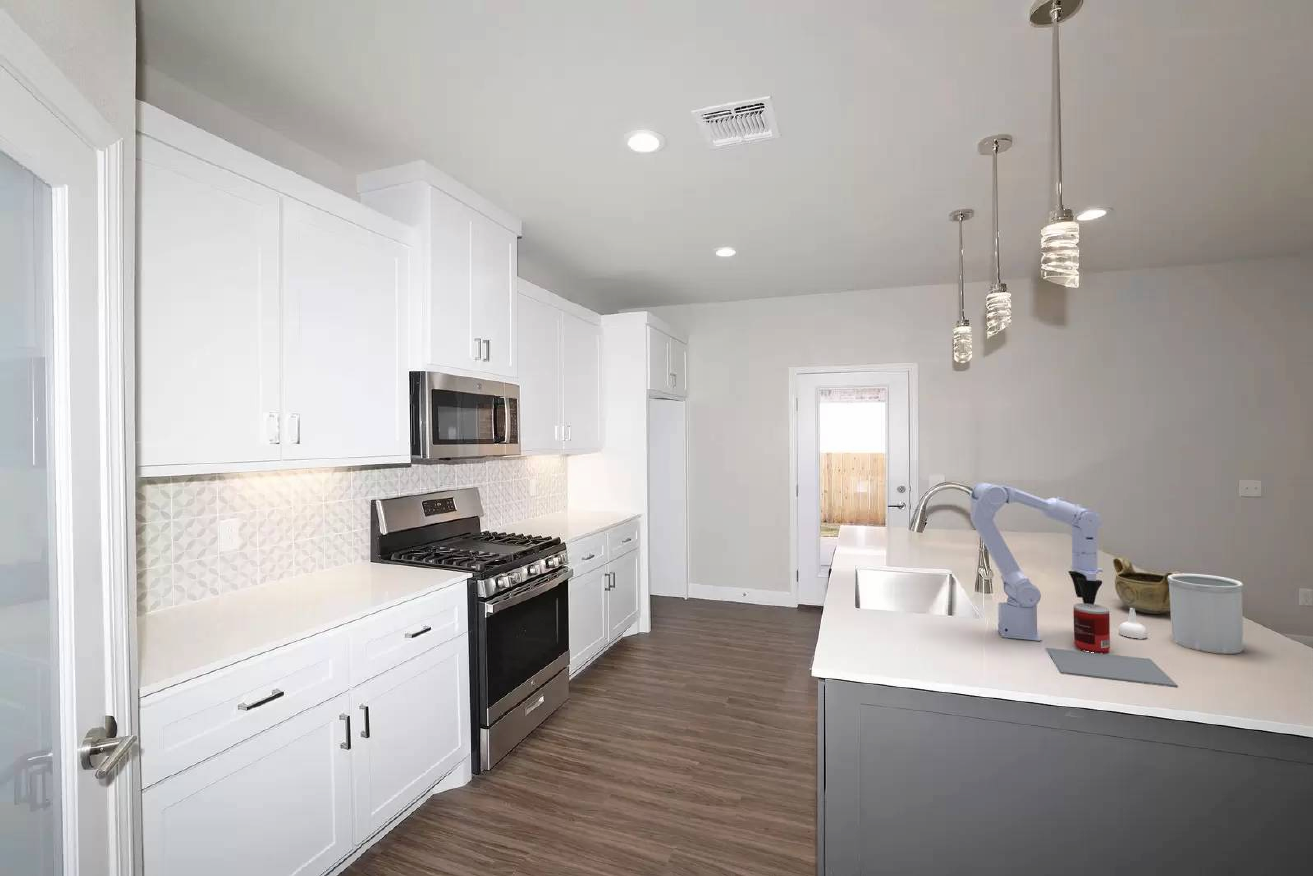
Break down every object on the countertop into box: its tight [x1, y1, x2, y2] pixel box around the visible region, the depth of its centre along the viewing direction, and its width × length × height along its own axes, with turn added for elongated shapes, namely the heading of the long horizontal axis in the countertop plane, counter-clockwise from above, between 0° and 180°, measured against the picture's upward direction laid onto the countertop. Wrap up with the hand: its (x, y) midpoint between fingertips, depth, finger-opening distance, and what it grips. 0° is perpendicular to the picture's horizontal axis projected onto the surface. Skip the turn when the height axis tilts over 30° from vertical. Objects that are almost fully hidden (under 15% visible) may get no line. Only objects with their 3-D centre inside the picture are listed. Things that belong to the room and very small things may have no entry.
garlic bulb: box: [1118, 607, 1148, 640], centre depth 166 cm, size 6×6×8 cm
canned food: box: [1072, 602, 1111, 654], centre depth 157 cm, size 8×8×11 cm
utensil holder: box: [1168, 573, 1244, 655], centre depth 158 cm, size 15×15×18 cm
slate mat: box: [1045, 647, 1179, 688], centre depth 145 cm, size 22×17×1 cm
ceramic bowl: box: [1112, 557, 1184, 615], centre depth 188 cm, size 22×17×15 cm
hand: (1084, 600), depth 165 cm, fingers open, 7 cm apart
